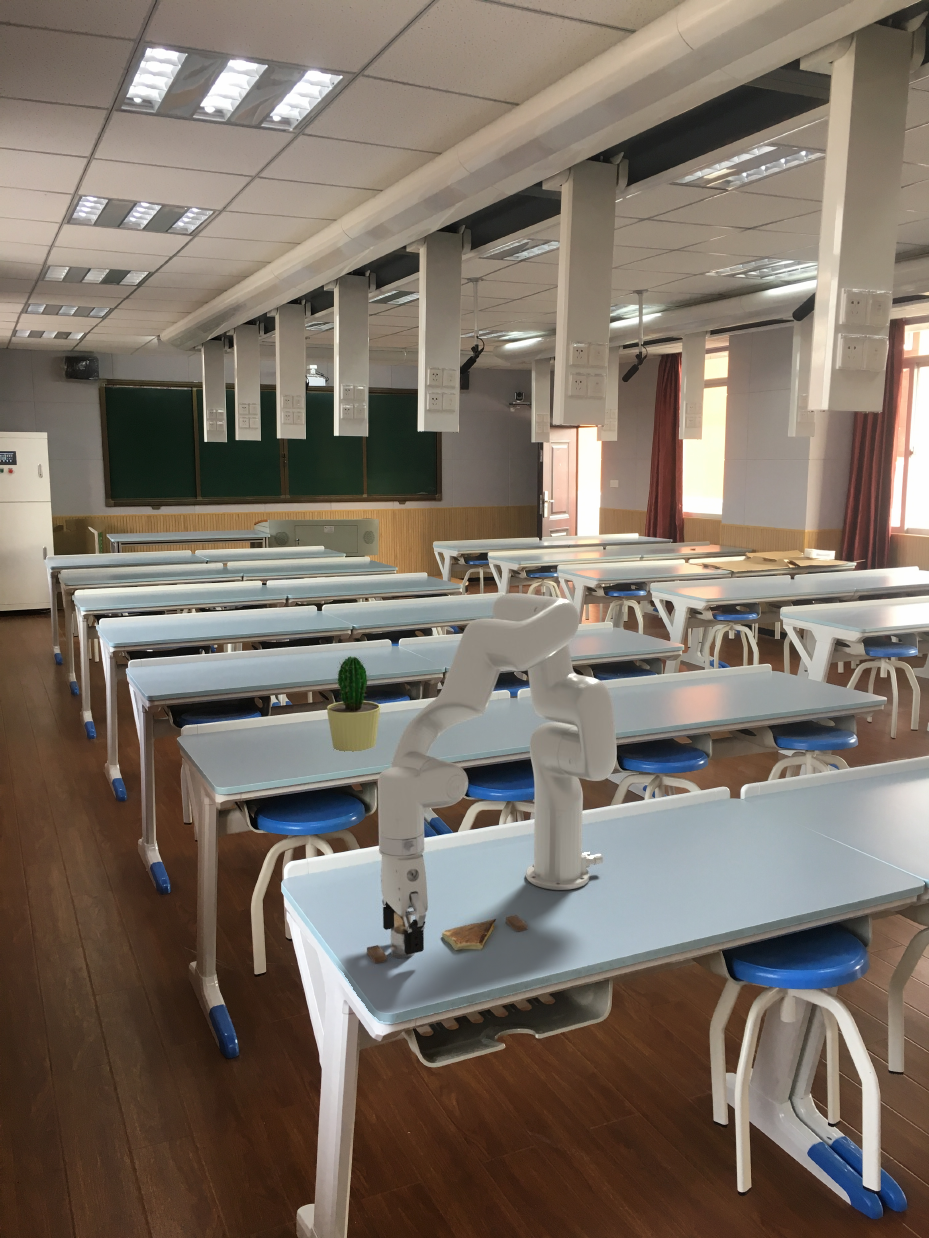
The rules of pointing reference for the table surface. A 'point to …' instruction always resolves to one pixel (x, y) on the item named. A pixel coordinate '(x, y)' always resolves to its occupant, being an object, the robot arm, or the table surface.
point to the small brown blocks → (380, 956)
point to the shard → (469, 935)
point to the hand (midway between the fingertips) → (403, 939)
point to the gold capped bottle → (398, 937)
